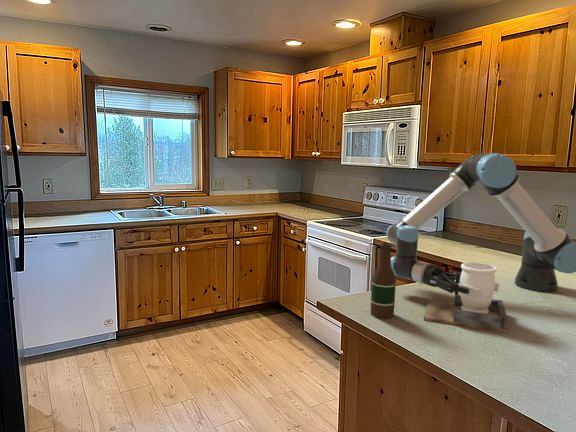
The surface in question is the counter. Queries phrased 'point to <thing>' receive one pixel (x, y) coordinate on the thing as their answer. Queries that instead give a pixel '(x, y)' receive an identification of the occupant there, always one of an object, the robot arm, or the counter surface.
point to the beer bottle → (383, 286)
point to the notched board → (448, 315)
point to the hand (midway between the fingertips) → (489, 290)
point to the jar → (478, 286)
